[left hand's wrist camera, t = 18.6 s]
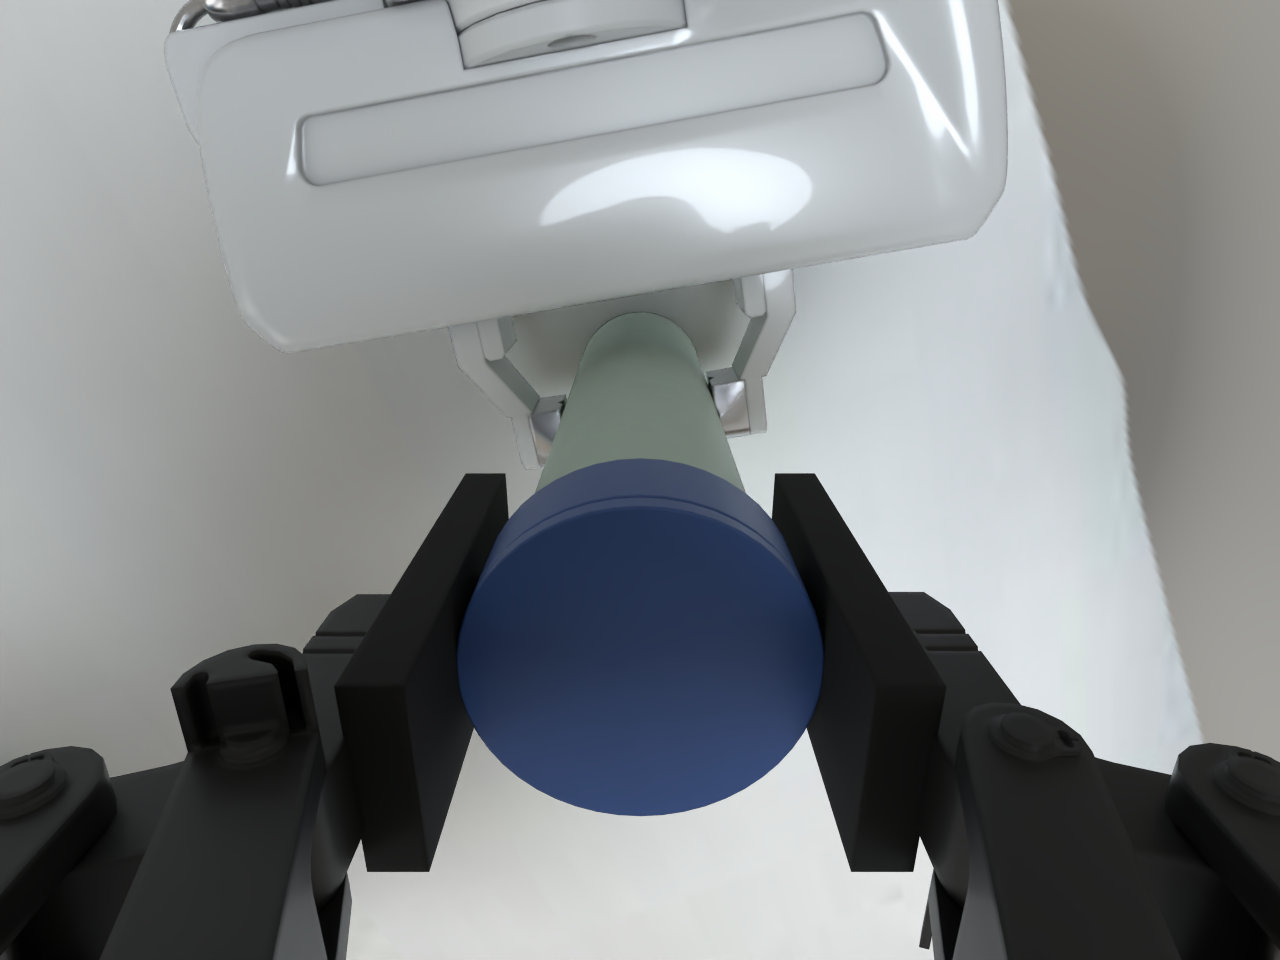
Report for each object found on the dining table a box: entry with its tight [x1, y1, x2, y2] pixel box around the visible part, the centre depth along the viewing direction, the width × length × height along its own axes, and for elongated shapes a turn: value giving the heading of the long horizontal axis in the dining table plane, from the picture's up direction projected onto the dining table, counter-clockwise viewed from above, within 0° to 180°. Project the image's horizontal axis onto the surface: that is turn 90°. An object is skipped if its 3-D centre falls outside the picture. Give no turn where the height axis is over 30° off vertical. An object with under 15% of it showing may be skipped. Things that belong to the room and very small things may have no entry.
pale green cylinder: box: [535, 312, 745, 493], centre depth 20 cm, size 4×4×18 cm
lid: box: [456, 458, 824, 816], centre depth 11 cm, size 5×5×2 cm
